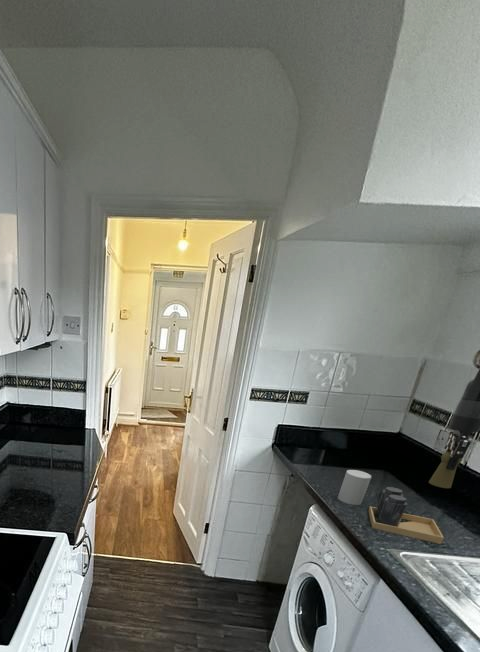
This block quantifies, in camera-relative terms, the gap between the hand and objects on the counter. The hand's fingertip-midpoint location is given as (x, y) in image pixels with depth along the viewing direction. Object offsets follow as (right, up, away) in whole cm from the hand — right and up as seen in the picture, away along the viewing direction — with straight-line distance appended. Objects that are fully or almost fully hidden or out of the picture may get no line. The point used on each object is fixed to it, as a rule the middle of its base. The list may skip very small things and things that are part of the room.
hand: (447, 466), depth 134 cm
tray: (-9, -20, +8) cm, 24 cm away
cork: (0, -6, +3) cm, 7 cm away
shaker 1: (-11, -17, +13) cm, 25 cm away
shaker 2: (-15, -20, +7) cm, 26 cm away
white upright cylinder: (-16, -12, +26) cm, 33 cm away
